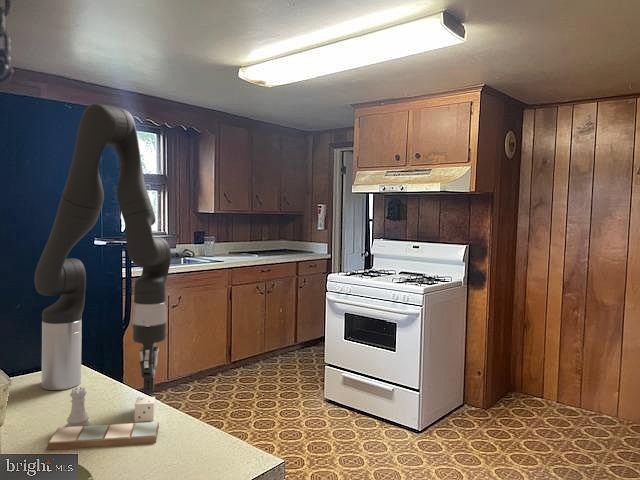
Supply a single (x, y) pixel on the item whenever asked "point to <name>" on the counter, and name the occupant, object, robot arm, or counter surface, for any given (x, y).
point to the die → (145, 408)
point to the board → (104, 435)
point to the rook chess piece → (78, 409)
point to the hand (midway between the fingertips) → (148, 392)
